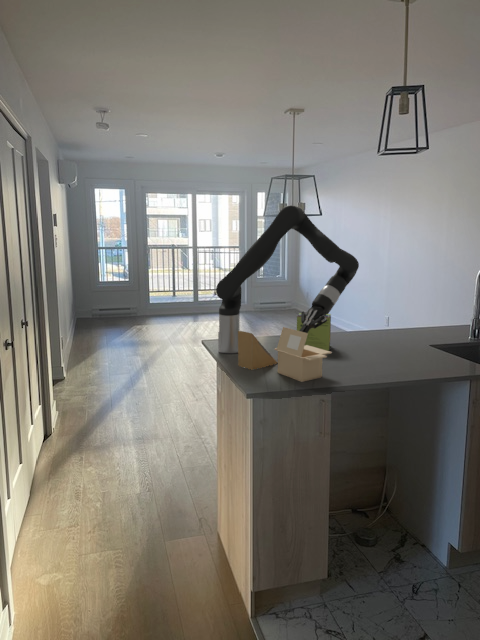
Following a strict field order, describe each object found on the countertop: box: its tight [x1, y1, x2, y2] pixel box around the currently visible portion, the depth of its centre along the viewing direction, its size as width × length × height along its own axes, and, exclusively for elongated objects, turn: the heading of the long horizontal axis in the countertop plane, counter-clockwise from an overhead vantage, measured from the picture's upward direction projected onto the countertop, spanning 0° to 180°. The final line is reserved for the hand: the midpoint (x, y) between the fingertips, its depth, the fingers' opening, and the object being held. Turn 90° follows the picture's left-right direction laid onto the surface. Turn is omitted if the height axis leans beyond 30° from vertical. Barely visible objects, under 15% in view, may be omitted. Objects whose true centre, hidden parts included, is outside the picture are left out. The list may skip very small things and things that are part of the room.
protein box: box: [296, 312, 332, 351], centre depth 228 cm, size 10×15×16 cm
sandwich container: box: [237, 330, 278, 371], centre depth 200 cm, size 9×15×15 cm, turn 132°
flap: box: [276, 326, 308, 357], centre depth 182 cm, size 14×9×1 cm
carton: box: [274, 345, 333, 383], centre depth 187 cm, size 20×15×9 cm
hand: (301, 334), depth 184 cm, fingers closed
